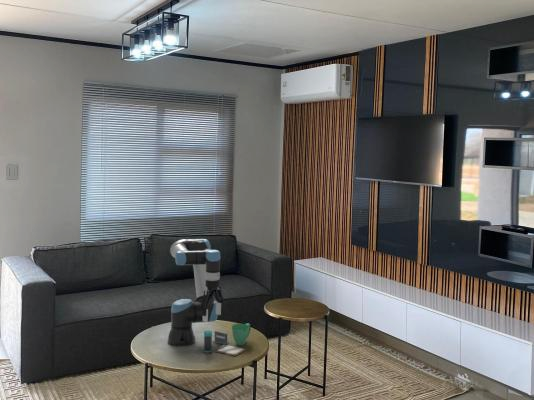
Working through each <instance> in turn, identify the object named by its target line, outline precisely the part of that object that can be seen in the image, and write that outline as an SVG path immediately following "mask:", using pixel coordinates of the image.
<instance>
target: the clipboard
mask: <svg viewBox="0 0 534 400" xmlns="http://www.w3.org/2000/svg"><path fill="white" fill-rule="evenodd" d="M246 351H247V349H246V348H242V347H237V346H233V345H229V344H227V345H224V344H222V345H221V346H218V348H217V349H216V350H214V352H215V353H219V354H223V355H226V356H231V357H236V358H237V356H239V355H241V354H242V353H244V352H246Z"/></svg>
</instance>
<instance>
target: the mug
mask: <svg viewBox="0 0 534 400" xmlns="http://www.w3.org/2000/svg"><path fill="white" fill-rule="evenodd" d="M251 326H252V325H251V324H250V323H235V324H233V325H231V331H232V335H233V340H234V342H235V345H237V346H244V345H245V343H246V341H247V339H248V337H249V334H250V333H251V328H252V327H251Z"/></svg>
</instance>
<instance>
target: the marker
mask: <svg viewBox="0 0 534 400" xmlns="http://www.w3.org/2000/svg"><path fill="white" fill-rule="evenodd" d="M203 339H204V340H203V341H204V342H203V353H204V354H206V355H207V354H211V353H212V352H213V350H212V349H213V347H212V343H213V341H212V340H213V331H212V330H205V331H204V333H203Z"/></svg>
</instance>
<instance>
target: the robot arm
mask: <svg viewBox="0 0 534 400" xmlns="http://www.w3.org/2000/svg"><path fill="white" fill-rule="evenodd" d="M211 247H212V246H211V243H210V241H209V240H208V239H206V238H191V239H189V238H187V239H185V238H183V239H179V240H177V241H175V242H173V243H172V244H171V246H170V248H169V254H170V255H171V256H172V258H174V261H175V264H176V266H192V268H193V274H194V276H193V278H194V284H195V292H196V298H194V301H193V300H192V299H190V298H181V299H177V300H176V301H173V302H172V304H171V308H170V309H171V310H170V312H171V317H170V318H171V321H170V323H171V324H170V325H171V326H170V331H169V333H168V337H167V343H168V344H169V345H173V346H177V347H178V346H180V347H181V346H190V345H192V344H194V343H195V341H196V337H195V333H194V329H193V324H196V323H198V324H199V323H211V322H216V321H217V319H218V316H221V315H222V314H221V313H222V304H223V303H224V295H223V292H222V288H221V287H222V285H221V283H220V281H221V280H220V279H221V278H220V277H221V272H220V271H221V258H222V257H221V252H220V251H219V250H218V249H212V248H211Z"/></svg>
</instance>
